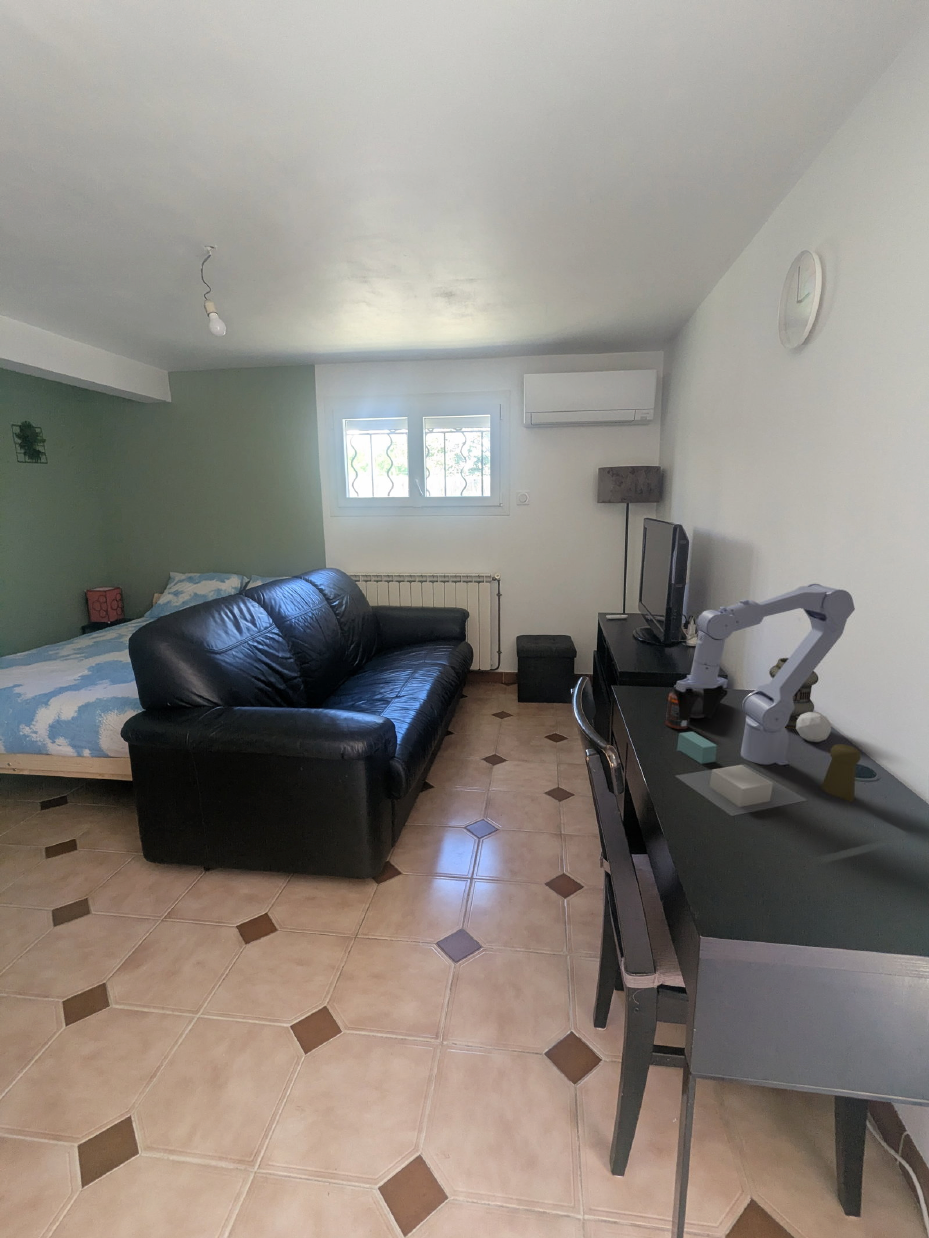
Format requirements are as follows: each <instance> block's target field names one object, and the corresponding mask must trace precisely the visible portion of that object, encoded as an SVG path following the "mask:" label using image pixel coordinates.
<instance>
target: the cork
mask: <svg viewBox="0 0 929 1238" xmlns="http://www.w3.org/2000/svg"><path fill="white" fill-rule="evenodd" d="M829 755H830V757H831V761H830V763H829V766H828V768H827V771H826V774H825V775H824V779H823V781H822V785H821V790H823V791H824V792H826V793H827V794H829V795H831V796H834V797H838V798H840V799H842V800H844V801H846V802H849V803H852V802H854V800H855V794H856V793H855V787H856V786H855V785H856V765H858V764H859V762H860V761H861V753H860V751H859V750H858V749H857V748H856V747H854V746H852V745H848V744H844V743H836V744H834V745H833V746H831V748H830V751H829Z"/></svg>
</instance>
